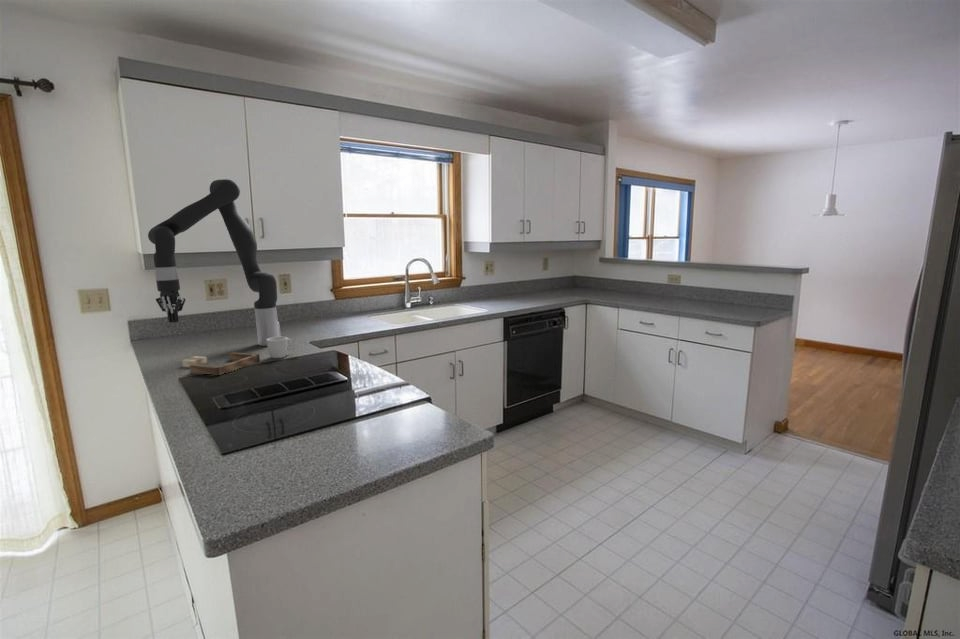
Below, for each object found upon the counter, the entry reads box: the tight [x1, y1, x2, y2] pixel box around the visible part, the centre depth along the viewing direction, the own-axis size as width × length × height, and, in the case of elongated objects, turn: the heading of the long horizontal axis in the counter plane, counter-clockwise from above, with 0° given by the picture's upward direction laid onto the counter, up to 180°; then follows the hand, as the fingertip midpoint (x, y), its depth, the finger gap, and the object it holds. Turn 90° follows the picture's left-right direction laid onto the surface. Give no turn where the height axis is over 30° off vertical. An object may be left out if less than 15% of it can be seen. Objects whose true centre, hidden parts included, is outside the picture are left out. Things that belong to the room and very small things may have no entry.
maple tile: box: [181, 355, 208, 368], centre depth 192 cm, size 6×6×3 cm
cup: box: [266, 335, 293, 359], centre depth 202 cm, size 11×8×8 cm
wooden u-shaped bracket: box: [189, 351, 261, 376], centre depth 188 cm, size 20×14×3 cm
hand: (173, 322), depth 192 cm, fingers closed
